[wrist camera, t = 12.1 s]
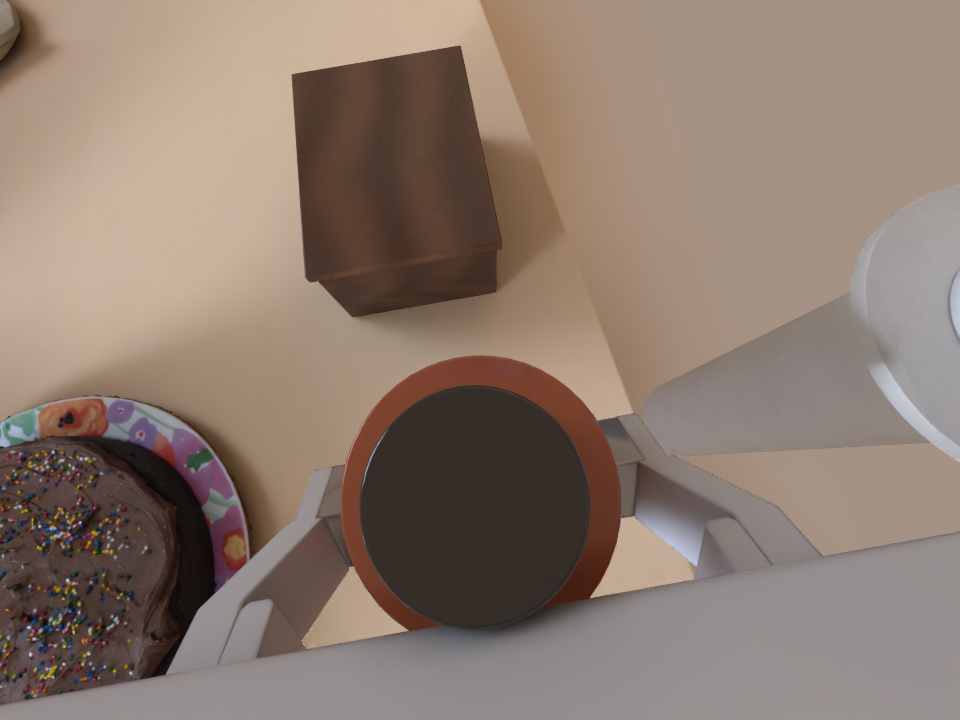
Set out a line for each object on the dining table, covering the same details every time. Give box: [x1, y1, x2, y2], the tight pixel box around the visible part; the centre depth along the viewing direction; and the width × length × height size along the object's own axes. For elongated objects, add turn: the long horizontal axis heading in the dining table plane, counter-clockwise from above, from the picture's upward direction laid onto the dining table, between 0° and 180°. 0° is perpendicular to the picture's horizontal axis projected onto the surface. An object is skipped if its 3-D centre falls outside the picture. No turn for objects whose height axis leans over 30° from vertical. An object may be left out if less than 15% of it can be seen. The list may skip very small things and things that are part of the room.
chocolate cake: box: [0, 395, 252, 705], centre depth 25 cm, size 28×28×7 cm
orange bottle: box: [341, 356, 622, 631], centre depth 11 cm, size 5×5×11 cm
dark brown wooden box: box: [292, 46, 502, 317], centre depth 31 cm, size 13×17×8 cm
